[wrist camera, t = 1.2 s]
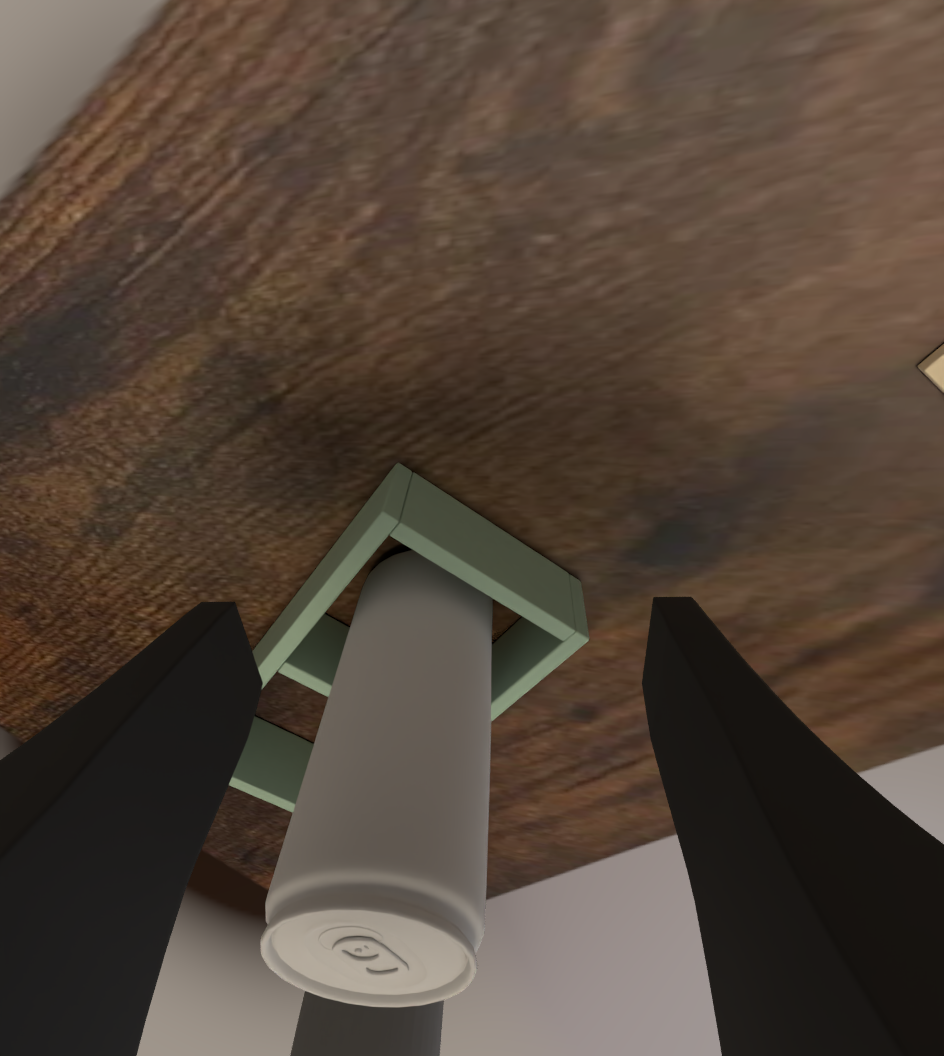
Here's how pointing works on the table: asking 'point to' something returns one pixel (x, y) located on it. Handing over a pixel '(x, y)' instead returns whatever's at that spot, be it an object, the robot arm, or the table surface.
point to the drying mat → (934, 367)
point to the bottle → (366, 1029)
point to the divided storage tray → (455, 545)
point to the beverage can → (393, 802)
